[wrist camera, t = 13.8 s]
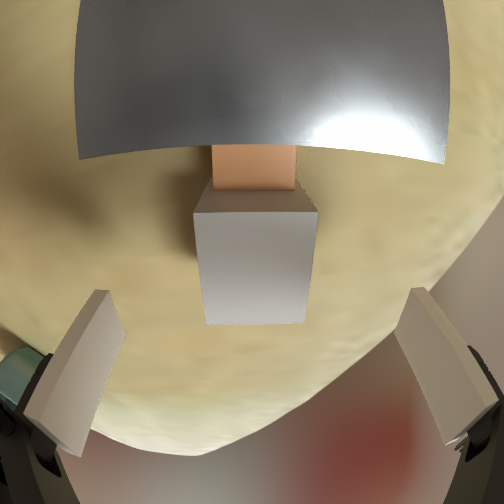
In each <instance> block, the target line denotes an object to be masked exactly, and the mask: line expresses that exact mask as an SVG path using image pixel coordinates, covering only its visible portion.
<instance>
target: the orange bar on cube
mask: <svg viewBox="0 0 504 504" xmlns="http://www.w3.org/2000/svg"><path fill="white" fill-rule="evenodd" d="M212 168H213V177H211V178H210V180H209V182H208V184H207V186H206V188H205V190H204V192H203V194H202V196H201V198H200V200H199V202H198V204H197V206H196V208H195V210H194V212H193V220H194V230H195V240H196V249H197V258H198V267H199V275H200V283H201V291H202V298H203V305H204V312H205V319H206V325H267V324H296V323H304V320H305V314H306V308H307V301H308V294H309V287H310V280H311V273H312V265H313V257H314V249H315V240H316V231H317V221H318V211H317V209H316V208H315V206H314V205H313V203H312V202H311V200H310V199H309V197H308V196H307V194H306V193H305V191H304V190H303V188H302V187H301V185H300V184H299V182H298V181H297V179H296V178H295V168H296V145H271V144H231V145H212Z"/></svg>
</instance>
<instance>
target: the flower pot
mask: <svg viewBox="0 0 504 504" xmlns="http://www.w3.org/2000/svg"><path fill="white" fill-rule="evenodd" d="M43 358H44V357H43V356H42V355H40V354H39V353H37V352H36V351H34V350H33V349H31V348H30V347H23V348H20V349H17V350H15V351H13V352H11V353H9V354H8V355H7V356H5V357H4V358H3V360H2V361H1V362H0V399H2V400H3V401H4V402H5V403H6V404H7V405H8V406H9V408H10V409H11V410H12V411H13V412H14V410H15V408H16V406H17V404H18V402H19V400H20V398H21V396H22V394H23V392H24V390H25V388H26V387H27V385H28V383H29V381H31V377H32V375H33V373H35V370H36V368H37V366H38V365H39V363H40V361H41V360H42V359H43Z"/></svg>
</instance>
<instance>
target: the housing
mask: <svg viewBox="0 0 504 504" xmlns="http://www.w3.org/2000/svg"><path fill="white" fill-rule="evenodd" d="M74 91H75V117H76V130H77V141H78V151H79V159H80V160H81V159H87V158H93V157H98V156H105V155H111V154H118V153H125V152H133V151H141V150H150V149H161V148H172V147H185V146H203V145H231V144H271V145H300V146H317V147H330V148H342V149H352V150H361V151H369V152H377V153H384V154H391V155H398V156H404V157H410V158H415V159H421V160H426V161H431V162H436V163H441V164H444V159H445V152H446V144H447V134H448V122H449V106H450V60H449V44H448V33H447V25H446V17H445V11H444V5H443V0H81V2H80V9H79V16H78V24H77V34H76V47H75V72H74Z"/></svg>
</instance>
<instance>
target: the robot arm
mask: <svg viewBox="0 0 504 504" xmlns="http://www.w3.org/2000/svg"><path fill="white" fill-rule="evenodd" d="M394 334H395V336H396V338H397V340H398V342H399V344H400V346H401V348H402V350H403V352H404V353H405V356H406V357H407V360H408V362H409V364H410V366H411V368H412V370H413V372H414V374H415V376H416V379H417V380H418V383H419V385H420V387H421V389H422V392H423V394H424V396H425V398H426V401H427V403H428V405H429V408H430V410H431V412H432V415H433V417H434V420H435V422H436V425H437V427H438V430H439V432H440V434H441V437H442V440H443V443H444V445H447V444H449V443H451V442H453V441H455V440H458V439H459V438H460V437H461V436H462V435H464V434H465V433H466V432H467V433H468V436H467V437H466V438H465V439H464V440H462V441H461V442H460V443H459V444H458V445H457V446H456V448H455V451H456V450H458V449H459V448H460V447H461V446H463V447H462V449H460V451H459V452H461V456H460V459H459V462H458V465H457V468H456V471H455V474H454V477H453V480H452V483H451V485H450V488H449V491H448V493H447V496H446V498H445V500H444V503H443V504H504V395H503V393H502V391H501V390H500V388H499V386H498V384H497V383H496V381H495V379H494V378H493V376H492V374H491V372H490V371H488V367H487V366H486V364H484V361H483V359H482V358H481V356H480V355H479V353H478V352H477V351H476V350H474V349H473V348H472V347H471V346H470V345H469V346H467V345H466V344H465V342H464V341H463V339H462V338H461V336H460V335H459V334H458V332H457V331H456V329H455V328H454V327H453V325H452V324H451V322H450V321H449V319H448V318H447V317H446V315H445V314H444V313H443V311H442V310H441V309H440V307H439V306H438V304H437V303H436V302H435V301H434V299H433V298H432V297H431V295H430V294H429V293H428V291H427V290H426V289H425V288H424V287H418V288H411V290H410V293H409V296H408V299H407V301H406V304H405V307H404V309H403V312H402V314H401V317H400V319H399V322H398V324H397V327H396V329H395V331H394ZM125 337H126V336H125V333H124V331H123V328H122V325H121V323H120V320H119V317H118V315H117V312H116V309H115V306H114V303H113V300H112V297H111V294H110V291H109V290H94V292H93V293H92V295H91V296H90V298H89V299H88V301H87V302H86V304H85V305H84V307H83V308H82V310H81V311H80V313H79V314H78V316H77V317H76V319H75V320H74V322H73V323H72V325H71V327H70V328H69V330H68V331H67V333H66V335H65V336H64V338H63V340H62V341H61V343H60V345H59V346H58V348H57V350H56V351H55V353H54V354H51V353H49V354H48V355H47V356H45V357H44V358H43V359H42V360H41V361H40V363H39V365H38V366H37V368H36V370H35V373H33V375H32V377H31V381H29V383H28V385H27V387H26V388H25V390H24V392H23V394H22V396H21V398H20V400H19V402H18V404H17V406H16V408H15V410H14V412H13V411H12V410H11V409H10V408H9V406H8V405H7V404H6V403H5V402H4V401H3V400H2V399H0V504H80V502H79V500H78V499H77V496H76V494H75V492H74V490H73V488H72V486H71V484H70V481H69V479H68V477H67V474H66V472H65V470H64V467H63V465H62V462H61V459H60V457H59V454H58V452H57V451H56V450H55V449H56V446H57V445H58V446H59V447H60V448H62V449H63V450H64V451H66V452H68V453H71V454H73V455H76V456H78V457H81V455H82V452H83V449H84V446H85V442H86V439H87V436H88V433H89V430H90V427H91V424H92V421H93V418H94V415H95V413H96V410H97V407H98V404H99V401H100V399H101V396H102V393H103V391H104V388H105V386H106V383H107V380H108V378H109V375H110V373H111V370H112V368H113V365H114V363H115V361H116V358H117V356H118V353H119V351H120V349H121V346H122V344H123V342H124V339H125Z"/></svg>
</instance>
